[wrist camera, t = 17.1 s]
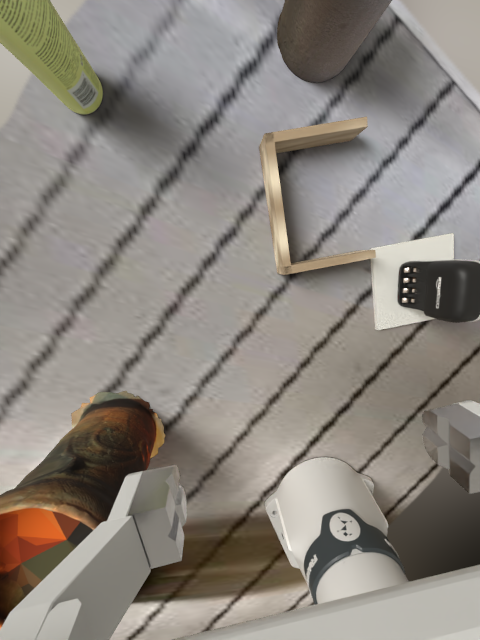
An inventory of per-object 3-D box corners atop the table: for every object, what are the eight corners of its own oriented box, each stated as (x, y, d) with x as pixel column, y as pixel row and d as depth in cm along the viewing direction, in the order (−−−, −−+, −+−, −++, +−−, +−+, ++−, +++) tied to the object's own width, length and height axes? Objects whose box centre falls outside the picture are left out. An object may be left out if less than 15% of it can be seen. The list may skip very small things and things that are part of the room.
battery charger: (393, 260, 39) (463, 262, 28) (418, 258, 40) (498, 259, 28) (390, 309, 41) (456, 328, 30) (415, 307, 41) (489, 325, 30)
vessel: (77, 480, 43) (-37, 658, 24) (60, 394, 40) (-85, 516, 21) (171, 470, 44) (136, 631, 25) (161, 386, 41) (114, 494, 22)
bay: (359, 257, 39) (375, 257, 35) (277, 273, 39) (284, 275, 35) (350, 132, 36) (366, 116, 32) (259, 147, 35) (264, 133, 31)
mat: (450, 314, 42) (453, 315, 42) (375, 329, 42) (377, 330, 41) (450, 233, 40) (453, 233, 39) (369, 248, 39) (372, 248, 39)
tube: (47, 71, 32) (-206, -211, 13) (88, 52, 32) (-105, -258, 13) (74, 123, 33) (-119, -60, 14) (112, 106, 33) (-28, -102, 14)
